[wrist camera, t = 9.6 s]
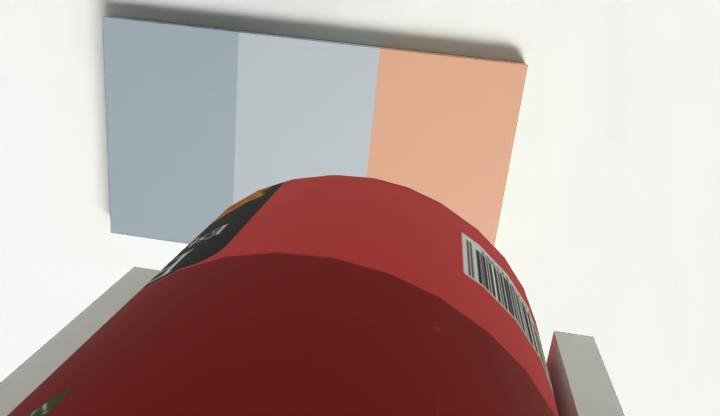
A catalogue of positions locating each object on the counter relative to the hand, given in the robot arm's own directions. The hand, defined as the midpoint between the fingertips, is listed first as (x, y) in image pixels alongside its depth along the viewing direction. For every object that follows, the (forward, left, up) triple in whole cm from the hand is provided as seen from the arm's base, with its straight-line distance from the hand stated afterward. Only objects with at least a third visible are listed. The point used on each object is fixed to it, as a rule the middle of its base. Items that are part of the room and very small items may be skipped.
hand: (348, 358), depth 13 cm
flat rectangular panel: (-4, 0, -16) cm, 17 cm away
